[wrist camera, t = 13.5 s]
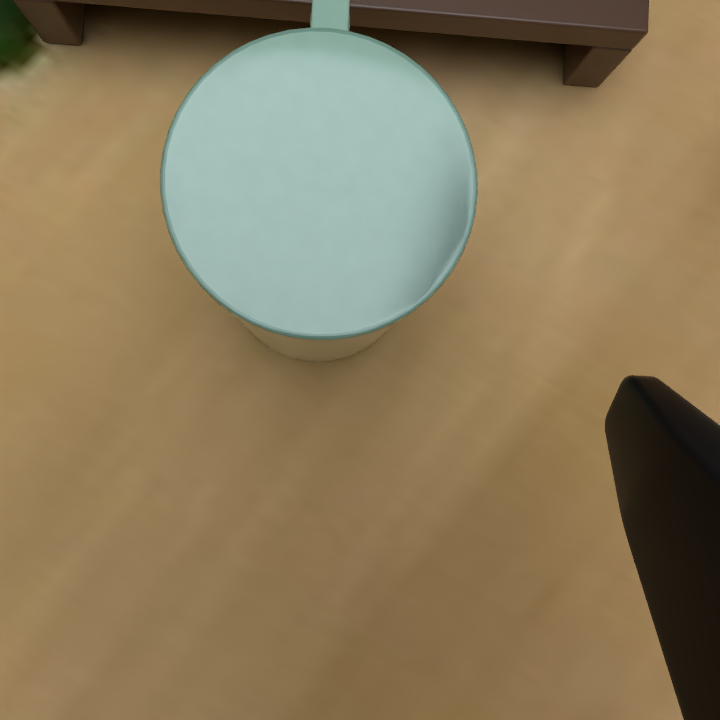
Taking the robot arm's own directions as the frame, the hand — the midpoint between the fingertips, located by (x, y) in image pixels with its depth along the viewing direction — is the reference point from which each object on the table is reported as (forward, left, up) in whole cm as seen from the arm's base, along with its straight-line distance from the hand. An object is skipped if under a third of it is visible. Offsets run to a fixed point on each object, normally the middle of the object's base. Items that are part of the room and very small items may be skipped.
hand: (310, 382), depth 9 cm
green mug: (+2, +3, -12) cm, 12 cm away
